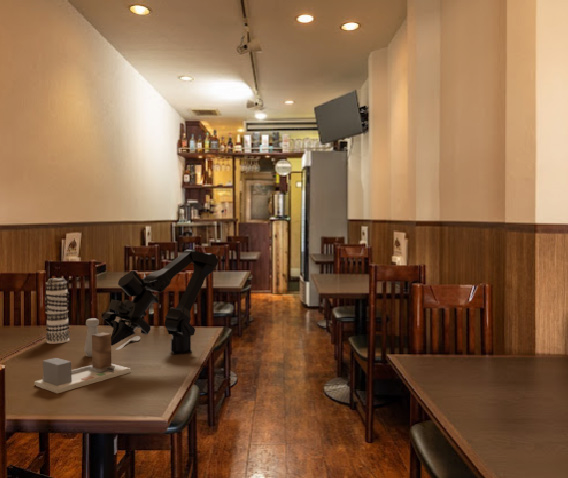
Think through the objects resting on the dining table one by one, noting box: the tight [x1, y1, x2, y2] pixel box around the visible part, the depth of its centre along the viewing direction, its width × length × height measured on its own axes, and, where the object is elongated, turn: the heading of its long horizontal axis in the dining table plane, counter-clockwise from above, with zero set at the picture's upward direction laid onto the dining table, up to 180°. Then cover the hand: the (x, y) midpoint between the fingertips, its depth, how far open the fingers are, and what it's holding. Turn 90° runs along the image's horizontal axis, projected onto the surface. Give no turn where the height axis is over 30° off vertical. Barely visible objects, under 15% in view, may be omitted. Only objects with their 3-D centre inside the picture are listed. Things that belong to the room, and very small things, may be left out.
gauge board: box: [34, 357, 131, 394], centre depth 152 cm, size 24×12×7 cm, turn 143°
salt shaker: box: [83, 317, 100, 358], centre depth 178 cm, size 6×6×13 cm
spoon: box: [115, 335, 141, 351], centre depth 194 cm, size 4×21×2 cm, turn 171°
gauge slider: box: [89, 332, 115, 372], centre depth 155 cm, size 5×9×11 cm, turn 53°
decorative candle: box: [44, 277, 70, 345], centre depth 201 cm, size 9×9×25 cm
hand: (110, 344), depth 159 cm, fingers closed
